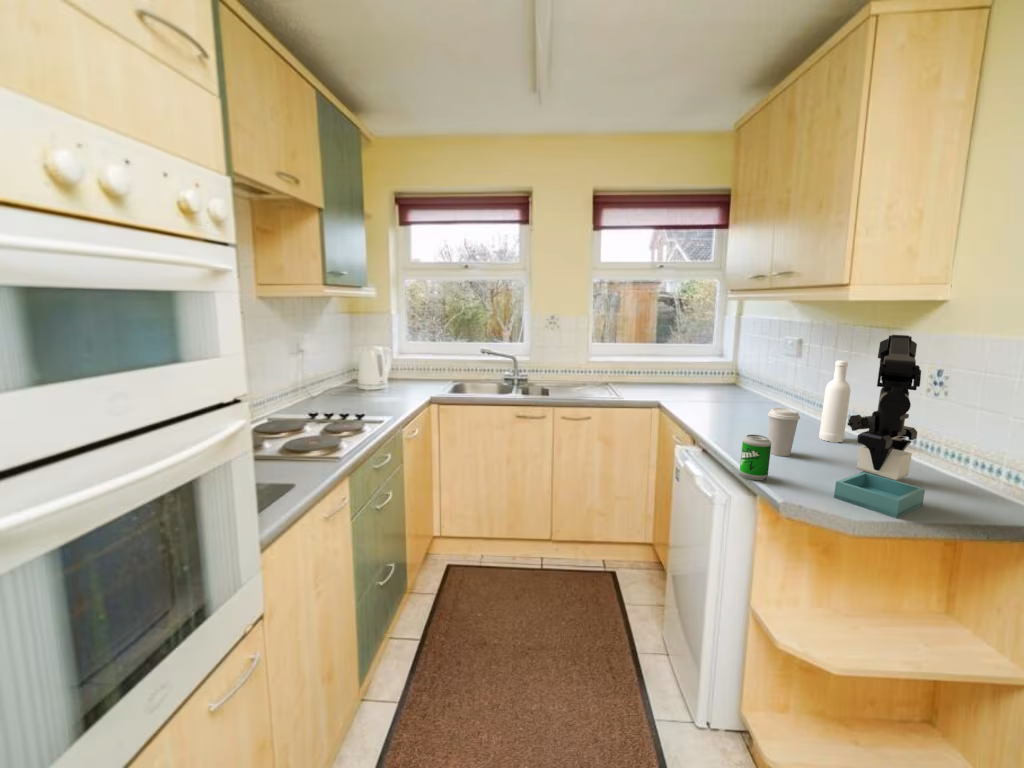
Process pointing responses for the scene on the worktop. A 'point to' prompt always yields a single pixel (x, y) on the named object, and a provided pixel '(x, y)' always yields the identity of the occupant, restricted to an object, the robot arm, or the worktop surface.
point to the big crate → (879, 494)
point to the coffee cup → (782, 430)
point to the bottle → (835, 405)
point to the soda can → (755, 457)
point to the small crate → (886, 463)
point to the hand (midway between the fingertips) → (882, 467)
